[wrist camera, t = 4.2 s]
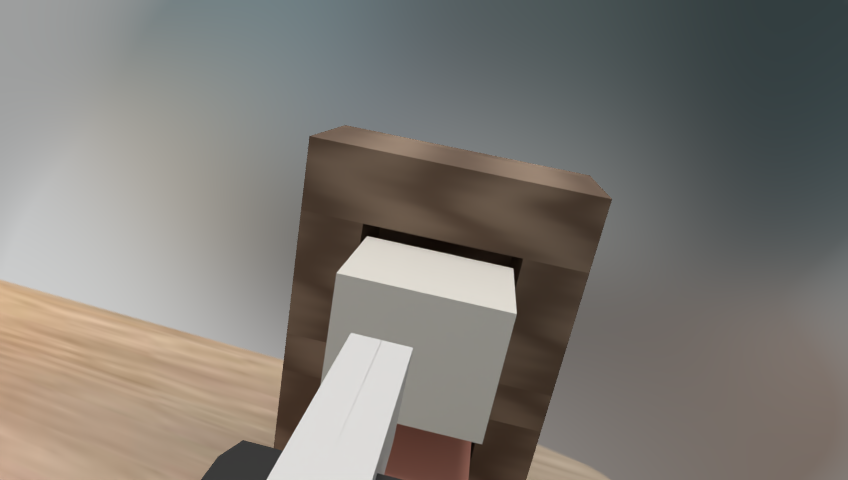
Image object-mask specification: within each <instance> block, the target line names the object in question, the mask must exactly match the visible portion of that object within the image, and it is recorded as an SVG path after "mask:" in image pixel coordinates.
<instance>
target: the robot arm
mask: <svg viewBox="0 0 848 480" xmlns="http://www.w3.org/2000/svg"><path fill="white" fill-rule="evenodd" d="M412 351H413V348H412V347H408V346H404V345H400V344H396V343H392V342H387V341H383V340H379V339H375V338H371V337H367V336H362V335H358V334H354V333H351V334H350V335H349V337H348V339H347V341H346V342H345V344H344V346H343V348H342V349H341V351H340V353H339V354H338V356H337V358H336V360H335V361H334V363H333V365H332V367H331V368H330V370H329V372H328V374H327V375H326V377H325V379H324V381H323V382H322V384H321V386H320V387H319V389H318V391H317V393H316V394H315V396H314V398H313V400H312V401H311V403H310V405H309V407H308V408H307V410H306V412H305V414H304V415H303V417H302V419H301V421H300V422H299V424H298V426H297V427H296V429H295V431H294V433H293V434H292V436H291V438H290V440H289V441H288V443H287V445H286V447H285V448H284V450H283V451H282V450H279V449H275V448H271V447H267V446H263V445H259V444H255V443H252V442H248V441H244V440H243V441H241V442H240V443H238V444H237V445H235V446H234V447H232V448H231V449H229V450H228V451H226V452H225V453H223V454H222V455H220V456H218V458H217V459H216V460H215V462H214V463H213V464H212V466H211V467H210V468H209V470H208V471H207V472H206V474H205V475H204V477H203V478H202V479H201V480H402V479H398V478H394V477H391V476H387V475H384V473H385V469H386V466H387V462H388V459H389V455H390V452H391V448H392V445H393V440H394V436H395V431H396V426H397V422H398V417H399V412H400V407H401V403H402V398H403V393H404V388H405V384H406V379H407V374H408V370H409V365H410V360H411V355H412Z"/></svg>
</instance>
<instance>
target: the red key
mask: <svg viewBox="0 0 848 480" xmlns="http://www.w3.org/2000/svg"><path fill="white" fill-rule="evenodd" d="M470 453H471V442H470V441H466V440H462V439H458V438H454V437H450V436H446V435H442V434H438V433H434V432H429V431H425V430H421V429H417V428H413V427H409V426H405V425H401V424H397V426H396V431H395V436H394V440H393V445H392V448H391V452H390V455H389V459H388V462H387V466H386V469H385V473H384V475H387V476H391V477H394V478H398V479H402V480H469V466H470Z"/></svg>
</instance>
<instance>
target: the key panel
mask: <svg viewBox="0 0 848 480" xmlns="http://www.w3.org/2000/svg"><path fill="white" fill-rule="evenodd" d="M611 201H612V199H611V198H610V197H609V196H608V194H607V193H606V192H605V191H604V190H603V189H602V188H601V187H600V186H599V185H598V184H597V183H596V182H595V181H594V180H593V179H592V178H591V176H589V175H584V174H580V173H575V172H570V171H565V170H560V169H555V168H550V167H546V166H540V165H536V164H531V163H526V162H521V161H516V160H512V159H507V158H502V157H497V156H492V155H487V154H482V153H477V152H472V151H468V150H463V149H458V148H453V147H448V146H444V145H439V144H433V143H429V142H424V141H419V140H414V139H410V138H405V137H399V136H395V135H390V134H385V133H381V132H376V131H371V130H366V129H361V128H356V127H351V126H346V125H345V126H341V127H338V128H335V129H331V130H328V131H325V132H322V133H319V134H315V135H312V136H310V137H309V146H308V155H307V163H306V172H305V181H304V190H303V198H302V207H301V216H300V225H299V234H298V242H297V250H296V259H295V268H294V276H293V285H292V294H291V303H290V311H289V321H288V329H287V337H286V346H285V355H284V363H283V372H282V381H281V389H280V398H279V407H278V416H277V424H276V433H275V442H274V448H275V449H279V450H282V451H283V450H284V448H285V447H286V445H287V443H288V441H289V440H290V438H291V436H292V434H293V433H294V431H295V429H296V427H297V426H298V424H299V422H300V421H301V419H302V417H303V415H304V414H305V412H306V410H307V408H308V407H309V405H310V403H311V401H312V400H313V398H314V396H315V394H316V393H317V391H318V389H319V387H320V385H321V378H322V371H323V364H324V357H325V350H326V343H327V336H328V329H329V322H330V315H331V308H332V301H333V294H334V287H335V280H336V273H337V272H338V271H339V269H340V268H341V267H342V266H343V265H344V263H345V262H346V261H347V260H348V259H349V257H350V256H351V255H352V254H353V253H354V251H355V250H356V249H357V248H358V247H359V245H360V244H361V243H362V242H363V241H364V239H365V238H366V237H367V236H369V237H374V238H378V239H383V240H387V241H392V242H396V243H401V244H405V245H410V246H414V247H419V248H424V249H428V250H433V251H437V252H442V253H446V254H451V255H455V256H460V257H464V258H469V259H473V260H478V261H482V262H487V263H491V264H496V265H500V266H505V267H509V268H513V271H514V284H515V297H516V310H517V315H516V319H515V323H514V326H513V330H512V334H511V338H510V341H509V345H508V349H507V353H506V356H505V360H504V364H503V368H502V372H501V375H500V379H499V383H498V387H497V390H496V394H495V398H494V402H493V405H492V409H491V413H490V417H489V420H488V424H487V428H486V432H485V435H484V439H483V443H482V444H478V443H474V442H471V453H470V466H469V480H526V478H527V475H528V472H529V468H530V465H531V462H532V459H533V455H534V452H535V449H536V445H537V442H538V439H539V436H540V432H541V429H542V426H543V423H544V419H545V416H546V413H547V410H548V406H549V403H550V400H551V396H552V393H553V390H554V387H555V383H556V380H557V377H558V373H559V370H560V367H561V364H562V361H563V357H564V354H565V351H566V348H567V344H568V341H569V337H570V334H571V331H572V328H573V324H574V321H575V318H576V315H577V311H578V308H579V305H580V302H581V299H582V295H583V292H584V289H585V285H586V282H587V279H588V276H589V272H590V269H591V266H592V263H593V259H594V256H595V253H596V250H597V246H598V243H599V240H600V236H601V233H602V230H603V227H604V223H605V220H606V217H607V214H608V210H609V207H610V204H611Z"/></svg>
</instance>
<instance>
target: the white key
mask: <svg viewBox="0 0 848 480" xmlns="http://www.w3.org/2000/svg"><path fill="white" fill-rule="evenodd" d="M516 315H517V310H516V297H515V284H514V271H513V268H509V267H505V266H500V265H496V264H491V263H487V262H482V261H478V260H473V259H469V258H464V257H460V256H455V255H451V254H446V253H442V252H437V251H433V250H428V249H424V248H419V247H414V246H410V245H405V244H401V243H396V242H392V241H387V240H383V239H378V238H374V237H369V236H367V237H366V238H365V239H364V241H363V242H362V243H361V244H360V245H359V247H358V248H357V249H356V250H355V251H354V253H353V254H352V255H351V256H350V257H349V259H348V260H347V261H346V262H345V263H344V265H343V266H342V267H341V268H340V269H339V271H338V272H337V273H336V280H335V287H334V294H333V301H332V308H331V315H330V322H329V329H328V336H327V343H326V350H325V357H324V364H323V371H322V378H321V384H322V382H323V381H324V379H325V377H326V375H327V374H328V372H329V370H330V368H331V367H332V365H333V363H334V361H335V360H336V358H337V356H338V354H339V353H340V351H341V349H342V348H343V346H344V344H345V342H346V341H347V339H348V337H349V335H350V334H351V333H354V334H358V335H362V336H367V337H371V338H375V339H379V340H383V341H387V342H392V343H396V344H400V345H404V346H408V347H412V348H413V351H412V355H411V360H410V365H409V370H408V374H407V379H406V384H405V388H404V393H403V398H402V403H401V407H400V412H399V417H398V422H397V424H401V425H405V426H409V427H413V428H417V429H421V430H425V431H429V432H434V433H438V434H442V435H446V436H450V437H454V438H458V439H462V440H466V441H470V442H474V443H478V444H482V443H483V439H484V435H485V432H486V428H487V424H488V420H489V417H490V413H491V409H492V405H493V402H494V398H495V394H496V390H497V387H498V383H499V379H500V375H501V372H502V368H503V364H504V360H505V356H506V353H507V349H508V345H509V341H510V338H511V334H512V330H513V326H514V323H515V319H516ZM320 386H321V385H320Z"/></svg>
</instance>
